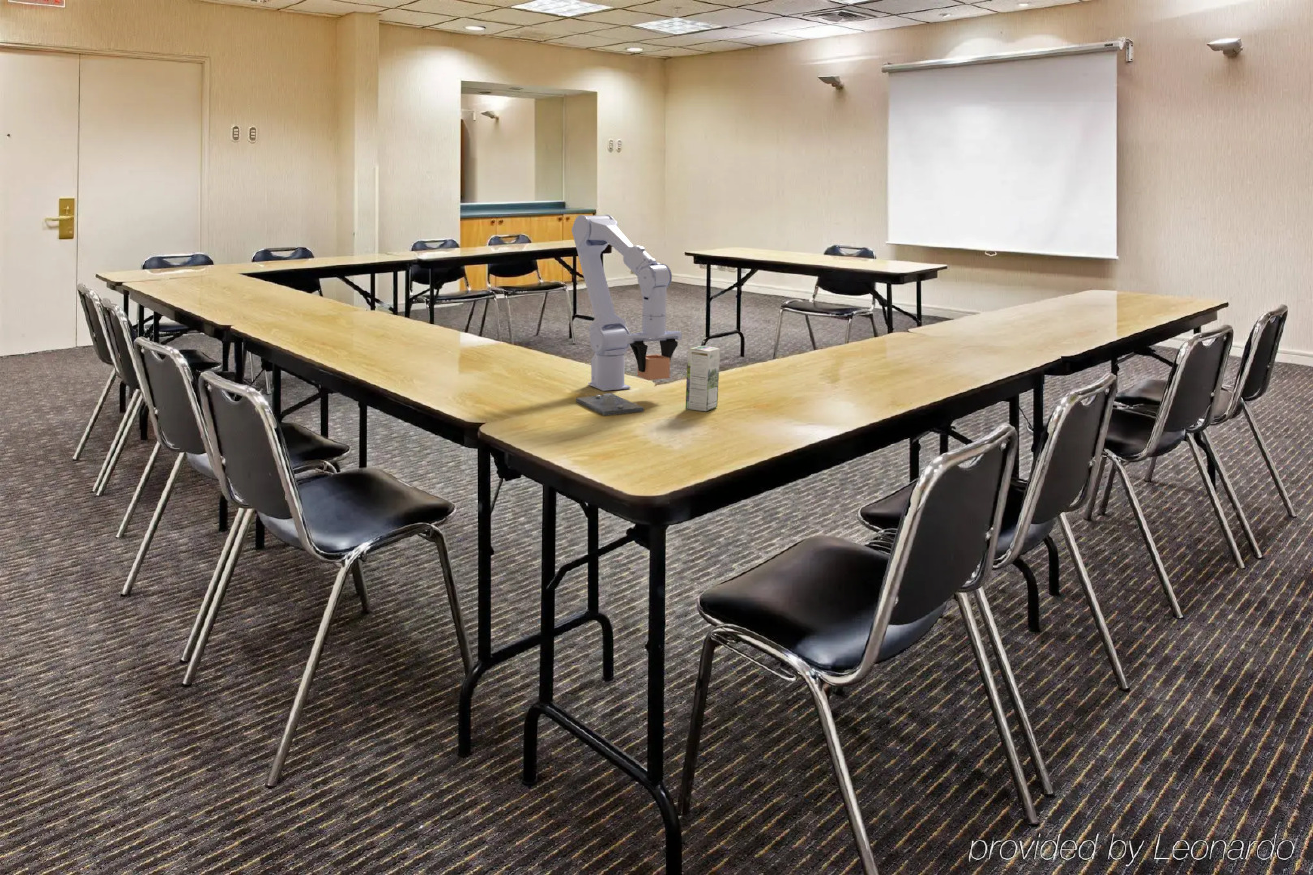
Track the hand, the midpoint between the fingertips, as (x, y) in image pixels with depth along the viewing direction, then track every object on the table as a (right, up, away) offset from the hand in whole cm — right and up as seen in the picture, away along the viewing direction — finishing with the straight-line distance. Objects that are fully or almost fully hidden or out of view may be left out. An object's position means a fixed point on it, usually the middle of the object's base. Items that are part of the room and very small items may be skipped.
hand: (653, 370), depth 240 cm
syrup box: (+12, -10, -9) cm, 17 cm away
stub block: (-10, -9, -8) cm, 16 cm away
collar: (0, -2, 0) cm, 2 cm away
